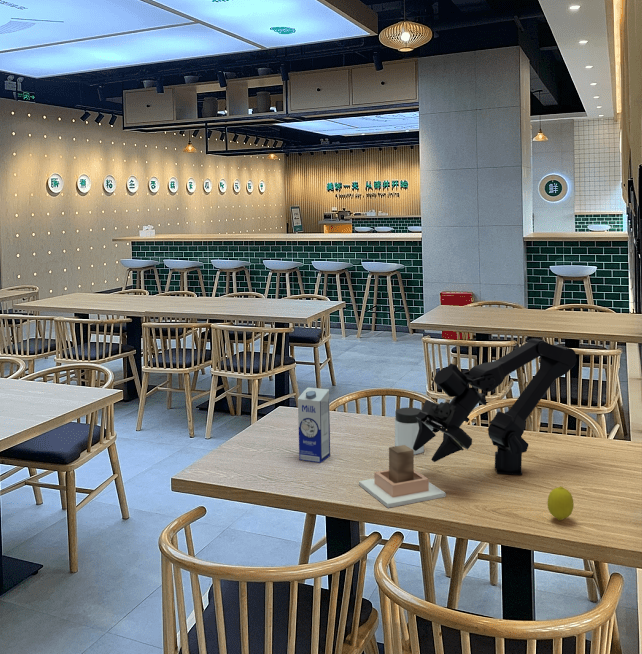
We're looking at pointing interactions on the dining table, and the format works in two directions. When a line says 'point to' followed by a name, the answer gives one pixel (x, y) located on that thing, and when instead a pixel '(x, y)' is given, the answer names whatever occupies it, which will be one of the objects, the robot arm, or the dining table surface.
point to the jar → (407, 428)
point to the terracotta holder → (400, 489)
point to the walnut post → (401, 464)
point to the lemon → (560, 503)
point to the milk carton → (314, 425)
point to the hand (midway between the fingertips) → (423, 455)
